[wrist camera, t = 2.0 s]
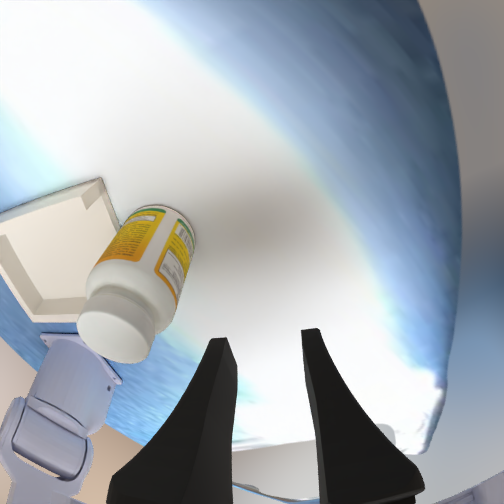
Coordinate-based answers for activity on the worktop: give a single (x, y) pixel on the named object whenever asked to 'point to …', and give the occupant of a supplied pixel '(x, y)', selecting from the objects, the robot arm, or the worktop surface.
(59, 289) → the tray
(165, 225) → the supplement bottle
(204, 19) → the worktop surface
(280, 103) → the worktop surface
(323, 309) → the worktop surface
